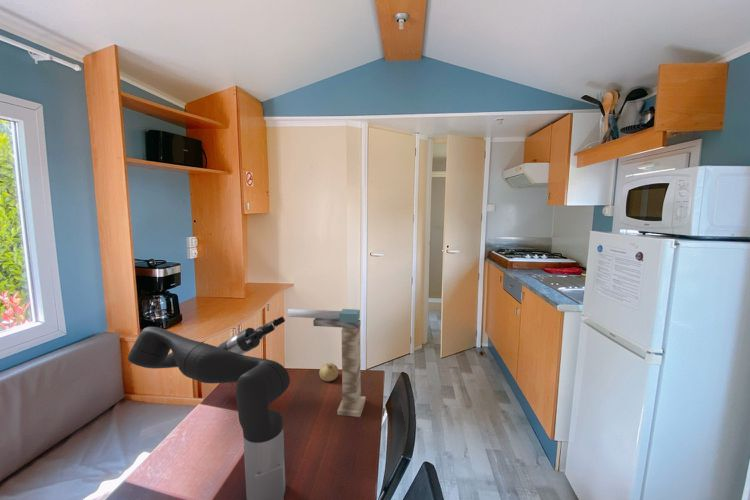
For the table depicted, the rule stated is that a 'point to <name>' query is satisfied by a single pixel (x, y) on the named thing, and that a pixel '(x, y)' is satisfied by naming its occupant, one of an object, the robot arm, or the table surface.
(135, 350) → the robot arm
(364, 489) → the table surface
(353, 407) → the rail stand
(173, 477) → the table surface
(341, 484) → the table surface
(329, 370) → the onion
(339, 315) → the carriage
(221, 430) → the table surface
